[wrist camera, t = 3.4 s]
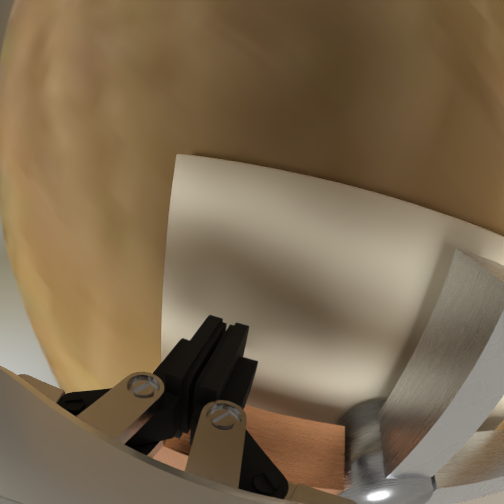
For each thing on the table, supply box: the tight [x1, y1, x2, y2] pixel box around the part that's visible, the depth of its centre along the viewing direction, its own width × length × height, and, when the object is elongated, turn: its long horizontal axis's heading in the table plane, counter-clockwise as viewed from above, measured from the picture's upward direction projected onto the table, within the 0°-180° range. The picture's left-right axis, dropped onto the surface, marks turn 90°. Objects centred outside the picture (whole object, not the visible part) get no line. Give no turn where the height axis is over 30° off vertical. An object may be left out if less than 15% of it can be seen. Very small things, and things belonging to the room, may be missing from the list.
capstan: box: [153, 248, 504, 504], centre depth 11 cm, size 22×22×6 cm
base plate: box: [161, 154, 504, 432], centre depth 14 cm, size 24×24×2 cm
